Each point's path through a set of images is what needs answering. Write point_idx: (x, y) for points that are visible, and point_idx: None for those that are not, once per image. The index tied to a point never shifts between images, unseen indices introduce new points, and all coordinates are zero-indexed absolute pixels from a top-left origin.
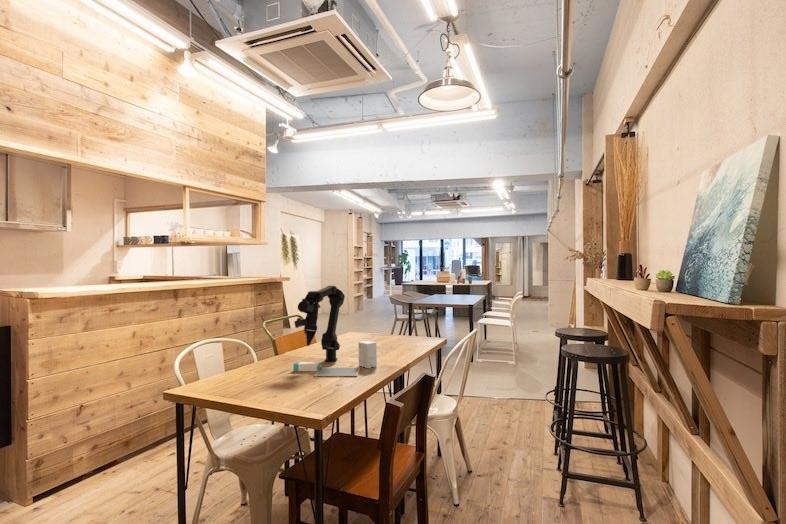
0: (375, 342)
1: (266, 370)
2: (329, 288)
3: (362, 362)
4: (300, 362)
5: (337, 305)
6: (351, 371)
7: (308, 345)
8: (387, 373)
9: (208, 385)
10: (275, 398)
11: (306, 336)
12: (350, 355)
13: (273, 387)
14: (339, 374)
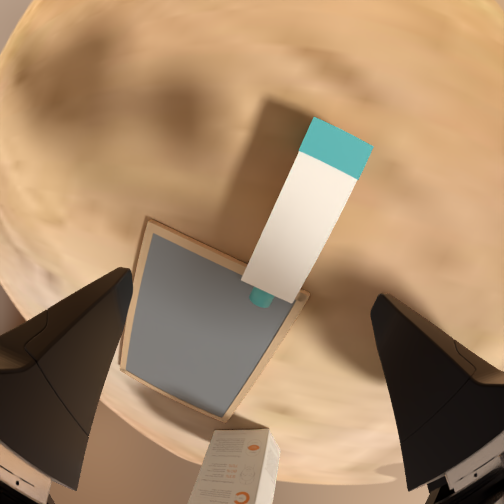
0: None
1: (398, 6)
2: None
3: (238, 443)
4: (341, 178)
5: None
6: (176, 382)
7: (373, 311)
8: (150, 432)
9: None
10: (10, 84)
11: (461, 371)
12: None
13: (79, 46)
14: (142, 331)
